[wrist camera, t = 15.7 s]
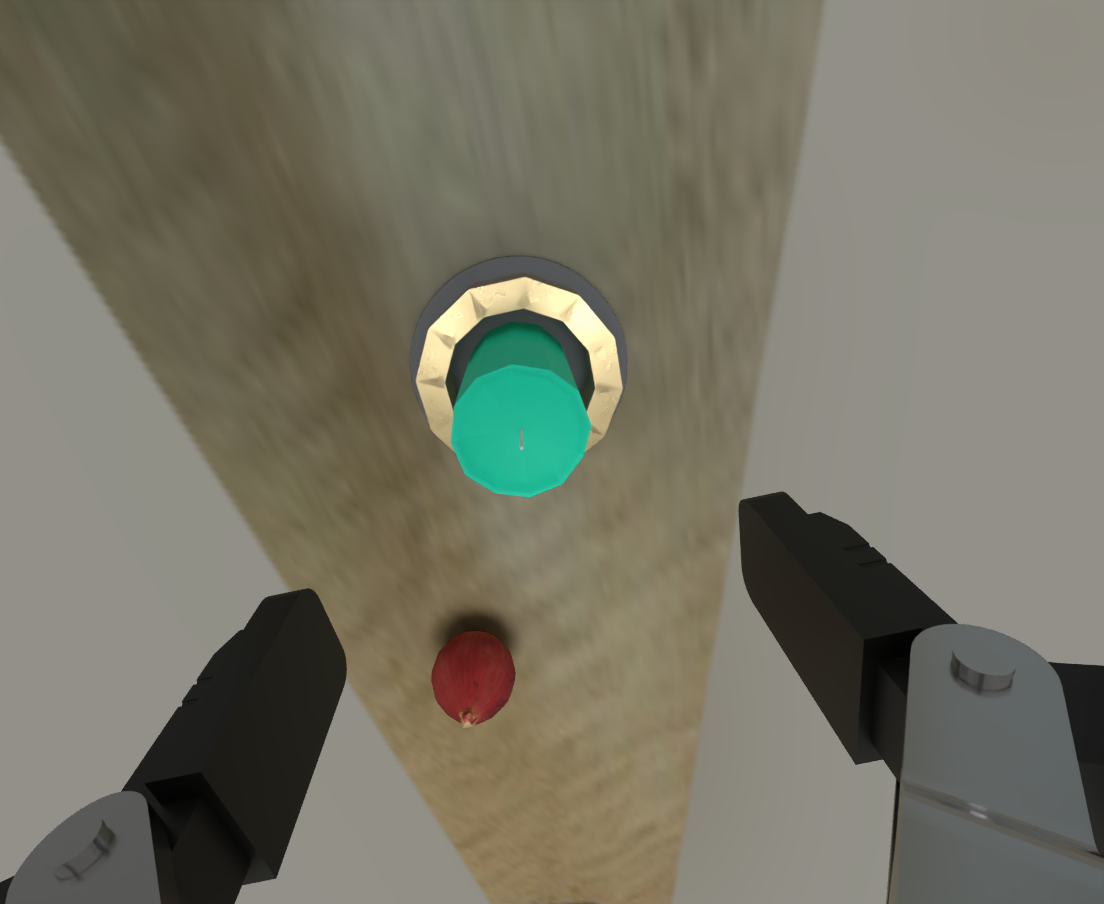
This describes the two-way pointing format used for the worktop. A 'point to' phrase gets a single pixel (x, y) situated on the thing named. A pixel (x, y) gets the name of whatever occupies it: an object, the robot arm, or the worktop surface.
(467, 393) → the candle
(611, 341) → the collar
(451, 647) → the onion
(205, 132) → the worktop surface
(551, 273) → the dish
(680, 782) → the worktop surface
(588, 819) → the worktop surface
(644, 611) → the worktop surface
